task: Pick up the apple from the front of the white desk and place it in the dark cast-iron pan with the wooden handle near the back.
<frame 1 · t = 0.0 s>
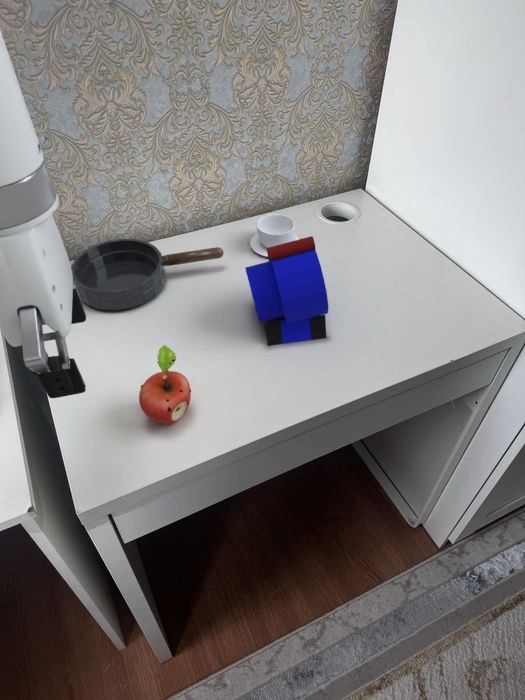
hand: (69, 355, 47), 20 cm above the table, tool pointing down, fingers open, 9 cm apart
pan handle: (191, 256, 86), point 3 cm above the table
teacup: (275, 245, 95), on the table
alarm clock: (284, 317, 80), on the table
pan: (122, 284, 87), on the table
apple: (169, 413, 67), on the table
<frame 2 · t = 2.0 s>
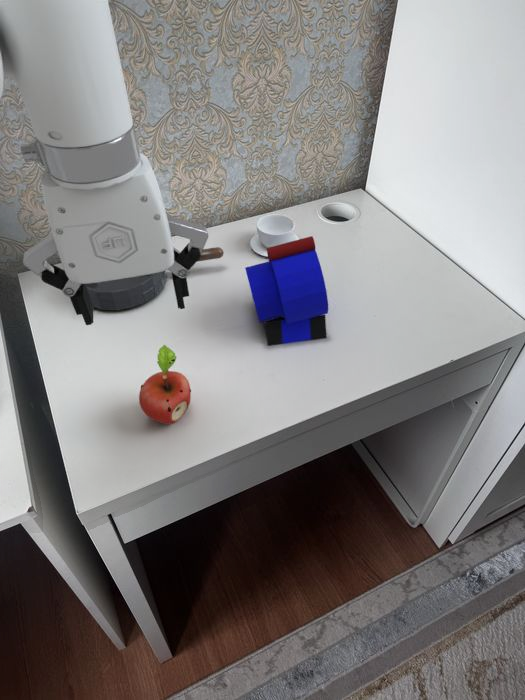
hand: (135, 308, 52), 20 cm above the table, tool pointing down, fingers open, 9 cm apart
nothing on the table moved.
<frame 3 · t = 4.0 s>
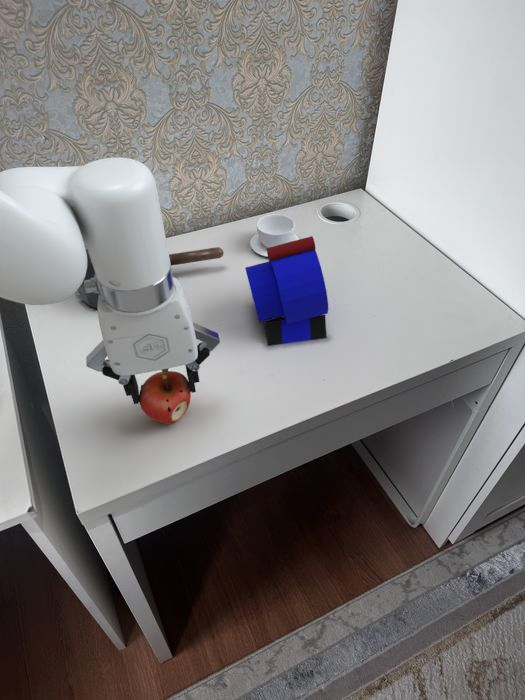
hand: (164, 389, 63), 5 cm above the table, tool pointing down, fingers closed on apple, 6 cm apart
apple: (169, 413, 67), on the table, touching gripper
everything else where it was.
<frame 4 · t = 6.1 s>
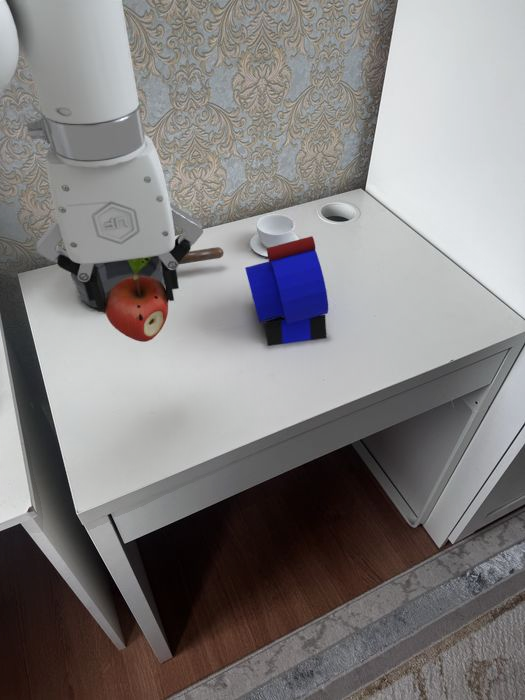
hand: (136, 296, 52), 20 cm above the table, tool pointing down, fingers closed on apple, 6 cm apart
apple: (143, 332, 56), point 15 cm above the table, touching gripper
everything else where it was.
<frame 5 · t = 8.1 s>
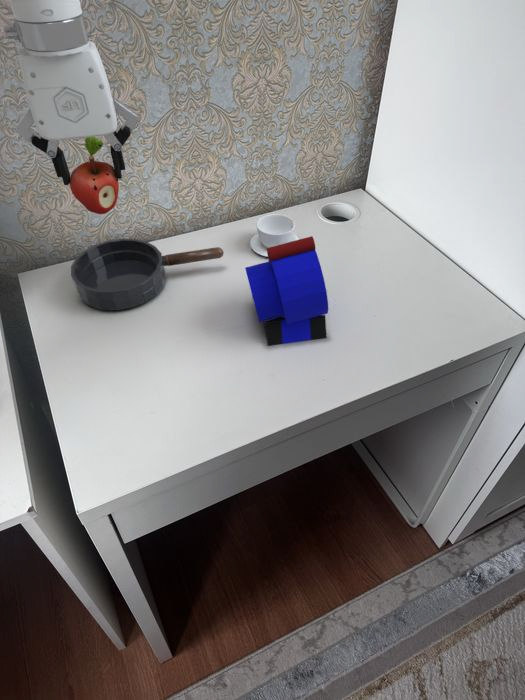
hand: (93, 176, 70), 22 cm above the table, tool pointing down, fingers closed on apple, 6 cm apart
apple: (102, 210, 73), point 16 cm above the table, touching gripper
everything else where it was.
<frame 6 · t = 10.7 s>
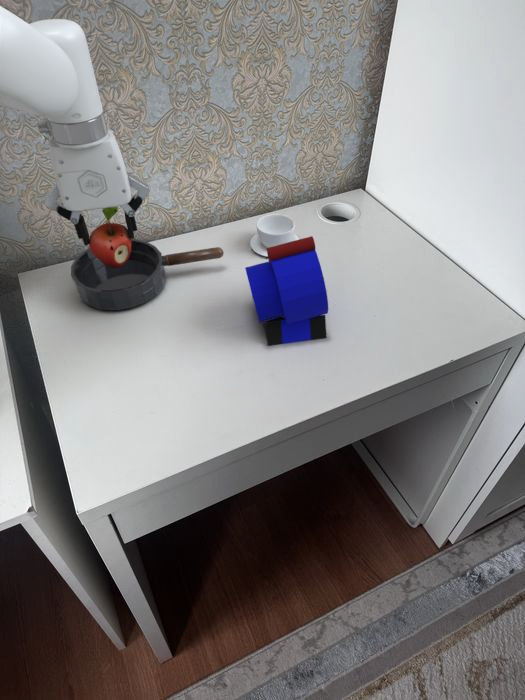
hand: (109, 236, 80), 10 cm above the table, tool pointing down, fingers closed on apple, 6 cm apart
apple: (116, 263, 84), point 5 cm above the table, touching gripper
everything else where it was.
when the fingers open (6 cm above the table, at t = 12.4 s): apple stays where it is, resting on pan.
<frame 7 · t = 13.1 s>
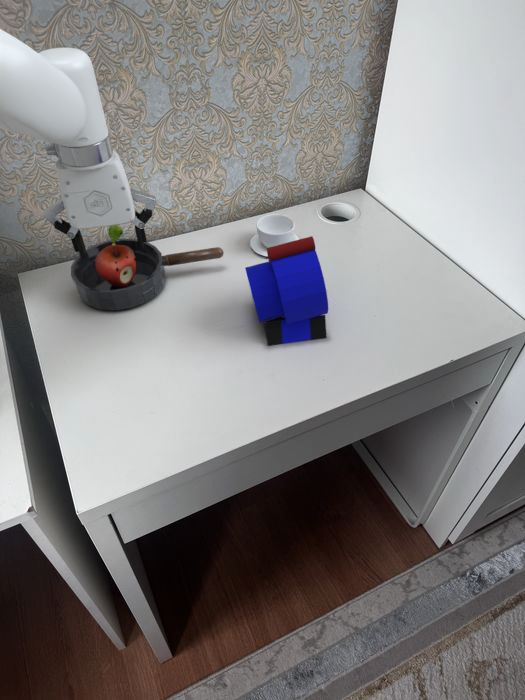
hand: (112, 249, 81), 7 cm above the table, tool pointing down, fingers open, 9 cm apart
apple: (121, 282, 87), resting on pan
everything else where it was.
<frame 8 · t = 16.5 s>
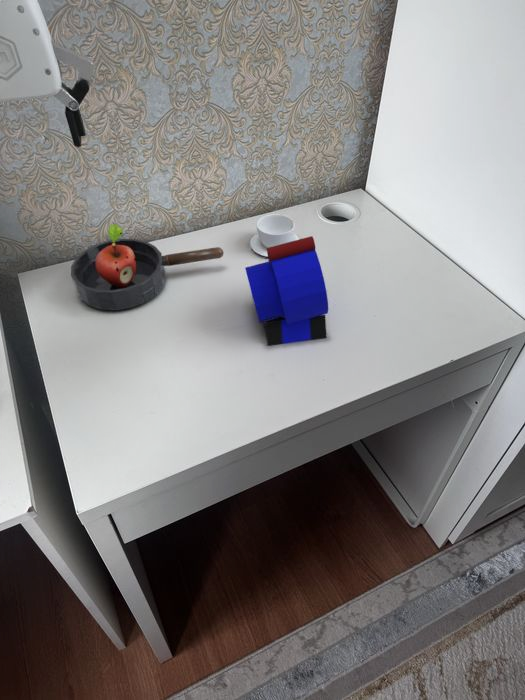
hand: (36, 147, 56), 30 cm above the table, tool pointing down, fingers open, 9 cm apart
nothing on the table moved.
at the end: apple inside the target area in the pan (0.2 cm from its centre), point 0.4 cm above the pan's base; the gripper is holding nothing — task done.
